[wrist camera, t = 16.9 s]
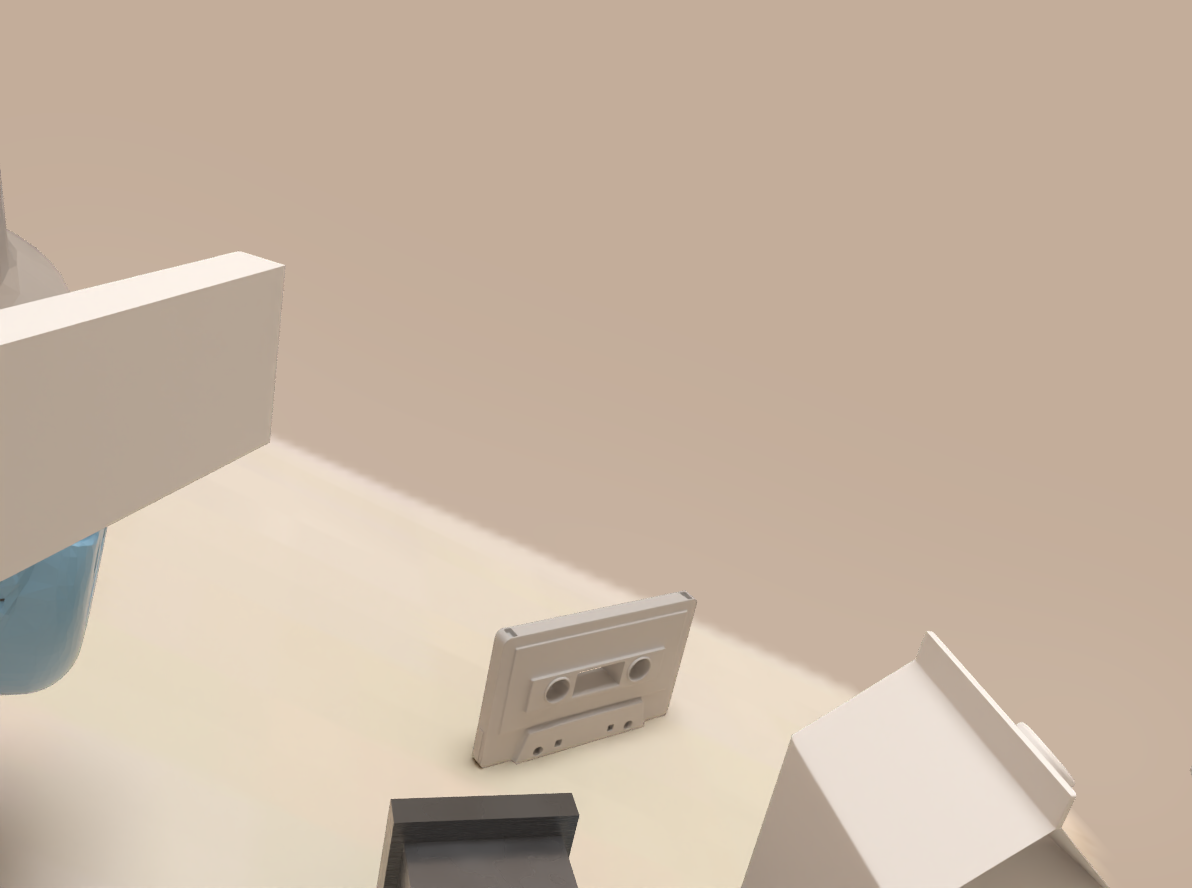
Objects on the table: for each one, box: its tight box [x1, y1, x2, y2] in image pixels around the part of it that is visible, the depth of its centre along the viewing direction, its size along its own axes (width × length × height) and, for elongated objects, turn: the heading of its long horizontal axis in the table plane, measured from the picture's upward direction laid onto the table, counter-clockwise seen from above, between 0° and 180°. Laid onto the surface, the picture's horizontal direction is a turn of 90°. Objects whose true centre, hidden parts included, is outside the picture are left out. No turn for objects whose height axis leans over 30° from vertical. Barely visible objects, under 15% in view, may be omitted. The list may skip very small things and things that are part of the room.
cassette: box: [473, 591, 697, 768], centre depth 55 cm, size 12×2×8 cm, turn 125°
